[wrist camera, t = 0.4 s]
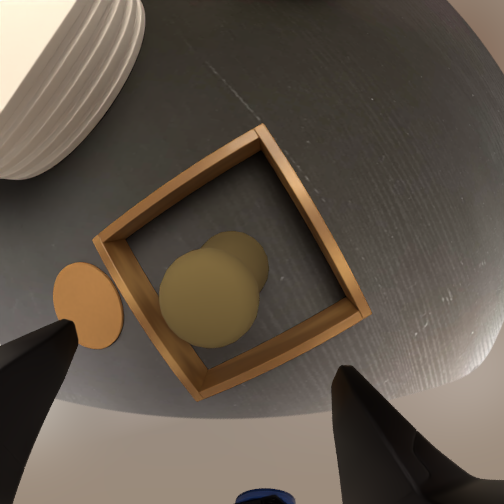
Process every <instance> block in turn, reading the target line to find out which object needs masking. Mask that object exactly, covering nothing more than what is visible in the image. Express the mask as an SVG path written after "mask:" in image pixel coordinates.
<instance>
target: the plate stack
mask: <svg viewBox="0 0 504 504" xmlns="http://www.w3.org/2000/svg"><path fill="white" fill-rule="evenodd" d="M144 31H145V11H144V7H143V4H142V2H141V0H0V179H11V180H23V179H28V178H32V177H35V176H37V175H40V174H42V173H44V172H45V171H47V170H49V169H50V168H52V167H53V166H55V165H56V164H58V163H59V162H60V161H61V160H63V159H64V158H65V157H66V156H67V155H69V154H70V153H71V152H72V151H73V150H74V149H75V148H76V147H77V146H78V145H79V144H80V143H81V142H82V141H83V140H84V139H85V138H86V137H87V135H88V134H89V133H90V132H91V131H92V130H93V128H94V127H95V126H96V125H97V124H98V122H99V121H100V120H101V118H102V117H103V116H104V114H105V113H106V112H107V110H108V109H109V107H110V106H111V104H112V103H113V101H114V100H115V98H116V97H117V95H118V94H119V92H120V90H121V89H122V87H123V85H124V83H125V82H126V80H127V78H128V76H129V74H130V72H131V70H132V68H133V66H134V63H135V61H136V59H137V56H138V53H139V51H140V48H141V44H142V41H143V36H144Z"/></svg>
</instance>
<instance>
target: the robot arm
mask: <svg viewBox="0 0 504 504" xmlns="http://www.w3.org/2000/svg"><path fill="white" fill-rule="evenodd" d="M78 343H79V339H78V335H77V331H76V327H75V324H74V322H73V321H71V320H68V319H61V320H59V321H56V322H54V323H52V324H50V325H47V326H45V327H43V328H40V329H38V330H36V331H33V332H31V333H29V334H27V335H24V336H22V337H20V338H17V339H15V340H13V341H11V342H8V343H6V344H4V345H1V346H0V504H13V501H14V498H15V495H16V492H17V488H18V486H19V483H20V480H21V477H22V474H23V472H24V469H25V468H24V467H25V466H26V463H27V460H28V458H29V455H30V453H31V450H32V448H33V445H34V443H35V441H36V438H37V436H38V434H39V431H40V429H41V427H42V425H43V422H44V420H45V418H46V416H47V414H48V412H49V409H50V407H51V405H52V403H53V401H54V399H55V397H56V395H57V393H58V391H59V389H60V387H61V385H62V383H63V381H64V379H65V376H66V374H67V372H68V369H69V366H70V364H71V361H72V359H73V356H74V354H75V352H76V349H77V347H78ZM331 393H332V421H333V433H334V440H335V447H336V454H337V461H338V468H339V475H340V484H341V492H342V501H343V504H504V480H486V479H480V478H476V477H473V476H472V475H470V474H468V473H467V472H465V471H464V470H463V469H461V468H460V467H459V466H457V465H456V464H455V463H454V462H453V461H451V460H450V459H449V458H447V457H446V456H445V455H444V454H442V453H441V452H440V451H439V450H438V449H436V448H435V447H434V446H433V445H432V444H431V443H430V442H429V441H428V440H427V439H426V438H424V437H423V436H422V435H421V434H420V433H419V432H418V431H416V429H415V428H414V427H413V426H412V425H411V424H410V423H409V422H408V421H407V420H406V419H405V418H404V417H403V416H402V415H401V414H400V413H399V412H398V411H397V410H396V409H395V408H394V407H393V406H392V405H391V404H390V403H389V402H388V401H387V400H386V399H385V398H384V397H383V396H382V395H381V394H380V393H379V392H378V391H377V390H376V389H375V388H374V387H373V386H372V385H371V384H370V383H369V382H368V381H367V380H366V379H365V378H364V377H363V376H362V375H361V374H360V373H359V372H358V371H357V370H356V369H355V368H354V367H353V366H350V365H341V366H340V367H339V368H338V371H337V373H336V375H335V377H334V379H333V382H332V386H331ZM235 504H287V503H285V502H284V501H283V500H282V499H281V498H280V497H278V496H277V495H269V496H265V497H261V498H257V499H253V500H249V501H244V502H240V503H235Z"/></svg>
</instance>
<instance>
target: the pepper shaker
mask: <svg viewBox="0 0 504 504" xmlns="http://www.w3.org/2000/svg"><path fill="white" fill-rule="evenodd" d="M268 271H269V266H268V259H267V256H266V254H265V252H264V250H263V247H262V246H261V245H260V244H259V243H258V242H257V241H256V240H255V239H254V238H252V237H250V236H249V235H247V234H245V233H241V232H236V231H228V232H221V233H219V234H217V235H215V236H213V237H211V238H210V239H209V240H208V241H207V242H206V243H205V244H204V245H203V246H202V247H201V249H197V250H193V251H190V252H188V253H187V254H185V255H183V256H181V257H179V258H177V259H176V260H175V261H174V263H173V264H172V265H171V266H170V267H169V268H168V269H167V271H166V273H165V275H164V278H163V280H162V282H161V284H160V290H159V304H160V309H161V313H162V316H163V318H164V319H165V321H166V323H167V325H168V327H169V328H170V329H171V330H172V331H173V332H174V333H175V334H176V335H177V336H178V337H179V338H181V339H182V340H184V341H186V342H188V343H190V344H192V345H194V346H199V347H203V348H219V347H224V346H226V345H229V344H231V343H234V342H236V341H237V340H238V339H239V338H240V337H241V336H243V335H244V334H245V333H246V332H247V331H248V330H249V329H250V327H251V326H252V324H253V322H254V320H255V319H256V317H257V311H258V306H259V292H260V291H261V290H262V288H263V286H264V284H265V282H266V281H267V277H268Z"/></svg>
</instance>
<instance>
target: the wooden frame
mask: <svg viewBox="0 0 504 504" xmlns="http://www.w3.org/2000/svg"><path fill="white" fill-rule="evenodd" d="M261 150H262V152H263V154H264V155H265V157H266V158H267V160H268V161H269V163H270V165H271V166H272V168H273V169H274V171H275V173H276V174H277V176H278V177H279V179H280V181H281V182H282V184H283V186H284V187H285V189H286V191H287V192H288V194H289V196H290V197H291V199H292V201H293V202H294V204H295V206H296V207H297V209H298V211H299V212H300V214H301V216H302V217H303V219H304V221H305V223H306V224H307V226H308V228H309V230H310V231H311V233H312V235H313V237H314V238H315V240H316V242H317V244H318V245H319V247H320V249H321V251H322V253H323V254H324V256H325V258H326V260H327V262H328V263H329V265H330V267H331V269H332V271H333V273H334V274H335V276H336V278H337V280H338V282H339V284H340V286H341V288H342V289H343V291H344V293H345V295H346V297H345V298H343V299H342V300H340V301H338V302H337V303H335V304H333V305H332V306H330V307H328V308H326V309H325V310H323V311H321V312H319V313H318V314H316V315H314V316H312V317H311V318H309V319H307V320H305V321H304V322H302V323H300V324H298V325H296V326H294V327H293V328H291V329H289V330H287V331H285V332H283V333H281V334H280V335H278V336H276V337H274V338H272V339H270V340H268V341H266V342H264V343H262V344H260V345H258V346H256V347H254V348H252V349H250V350H248V351H246V352H244V353H242V354H240V355H238V356H236V357H234V358H232V359H230V360H228V361H226V362H224V363H222V364H220V365H217V366H215V367H213V368H211V369H209V370H208V369H207V368H206V366H205V365H204V364H203V362H202V361H201V359H200V358H199V357H198V355H197V354H196V352H195V351H194V350H193V348H192V347H191V345H190V344H189V343H188V342H186V341H184V340H182V339H181V338H179V337H178V336H177V335H176V334H175V333H174V332H173V331H172V330H171V329H170V328H169V327H168V325H167V323H166V321H165V319H164V318H163V316H162V313H161V309H160V304H159V296H158V295H157V293H156V292H155V290H154V288H153V287H152V285H151V283H150V282H149V280H148V278H147V277H146V275H145V273H144V272H143V270H142V268H141V266H140V265H139V263H138V261H137V259H136V258H135V256H134V254H133V252H132V251H131V249H130V247H129V245H128V243H127V242H126V240H125V239H126V238H127V237H129V236H130V235H132V234H133V233H134V232H136V231H137V230H138V229H140V228H141V227H143V226H144V225H145V224H147V223H148V222H150V221H151V220H152V219H154V218H155V217H157V216H158V215H160V214H161V213H162V212H164V211H165V210H167V209H168V208H170V207H171V206H173V205H174V204H176V203H177V202H179V201H180V200H182V199H183V198H185V197H186V196H188V195H189V194H191V193H192V192H194V191H195V190H197V189H198V188H200V187H201V186H203V185H205V184H206V183H208V182H209V181H211V180H212V179H214V178H216V177H217V176H219V175H220V174H222V173H224V172H225V171H227V170H229V169H230V168H232V167H234V166H235V165H237V164H239V163H240V162H242V161H244V160H245V159H247V158H249V157H250V156H252V155H254V154H255V153H257V152H259V151H261ZM92 241H93V243H94V245H95V247H96V249H97V251H98V253H99V254H100V256H101V258H102V260H103V262H104V264H105V266H106V268H107V269H108V271H109V273H110V275H111V277H112V278H113V280H114V282H115V284H116V285H117V287H118V289H119V290H120V292H121V294H122V295H123V297H124V299H125V300H126V302H127V304H128V305H129V307H130V309H131V310H132V312H133V313H134V315H135V317H136V318H137V320H138V321H139V323H140V324H141V326H142V328H143V329H144V331H145V332H146V334H147V335H148V337H149V338H150V340H151V341H152V342H153V344H154V345H155V347H156V348H157V350H158V351H159V353H160V354H161V355H162V357H163V358H164V360H165V361H166V362H167V364H168V365H169V367H170V368H171V369H172V371H173V372H174V373H175V375H176V376H177V377H178V379H179V380H180V381H181V383H182V384H183V385H184V386H185V388H186V389H187V390H188V392H189V393H190V394H191V395H192V397H193V398H194V399H195V400H196V401H197V402H198V401H200V400H203V399H205V398H208V397H210V396H213V395H215V394H218V393H220V392H223V391H225V390H227V389H230V388H232V387H234V386H237V385H239V384H241V383H243V382H246V381H248V380H250V379H252V378H254V377H256V376H259V375H261V374H263V373H265V372H267V371H269V370H271V369H273V368H275V367H277V366H279V365H281V364H283V363H285V362H287V361H289V360H291V359H293V358H295V357H297V356H299V355H301V354H303V353H305V352H307V351H309V350H310V349H312V348H314V347H316V346H318V345H320V344H322V343H323V342H325V341H327V340H329V339H330V338H332V337H334V336H336V335H338V334H339V333H341V332H343V331H344V330H346V329H348V328H349V327H351V326H353V325H355V324H356V323H358V322H359V321H361V320H363V319H364V318H366V317H368V316H369V315H371V314H372V312H371V310H370V308H369V305H368V303H367V301H366V299H365V297H364V295H363V293H362V291H361V289H360V287H359V285H358V283H357V281H356V279H355V277H354V275H353V274H352V272H351V270H350V268H349V266H348V264H347V262H346V260H345V258H344V256H343V254H342V253H341V251H340V249H339V247H338V245H337V243H336V242H335V240H334V238H333V236H332V234H331V232H330V231H329V229H328V227H327V225H326V224H325V222H324V220H323V218H322V217H321V215H320V213H319V211H318V210H317V208H316V206H315V204H314V203H313V201H312V199H311V198H310V196H309V194H308V193H307V191H306V189H305V188H304V186H303V184H302V183H301V181H300V179H299V178H298V176H297V174H296V173H295V171H294V170H293V168H292V166H291V165H290V163H289V162H288V160H287V158H286V157H285V155H284V154H283V152H282V151H281V149H280V147H279V146H278V144H277V143H276V141H275V140H274V138H273V137H272V135H271V134H270V132H269V131H268V129H267V128H266V126H265V125H264V124H261V125H259V126H257V127H255V128H254V129H252V130H250V131H248V132H246V133H245V134H243V135H241V136H239V137H238V138H236V139H234V140H233V141H231V142H229V143H228V144H226V145H224V146H223V147H221V148H219V149H218V150H216V151H215V152H213V153H211V154H210V155H208V156H207V157H205V158H203V159H202V160H200V161H199V162H197V163H196V164H194V165H193V166H191V167H190V168H188V169H187V170H185V171H184V172H182V173H181V174H179V175H178V176H176V177H175V178H173V179H172V180H170V181H169V182H167V183H166V184H164V185H163V186H162V187H160V188H159V189H157V190H156V191H154V192H153V193H152V194H150V195H149V196H148V197H146V198H145V199H143V200H142V201H141V202H139V203H138V204H137V205H135V206H134V207H133V208H131V209H130V210H129V211H127V212H126V213H125V214H123V215H122V216H121V217H119V218H118V219H117V220H116V221H114V222H113V223H112V224H111V225H109V226H108V227H107V228H106V229H104V230H103V231H102V232H101V233H99V235H97V236H96V237H95V238H93V239H92Z"/></svg>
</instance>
